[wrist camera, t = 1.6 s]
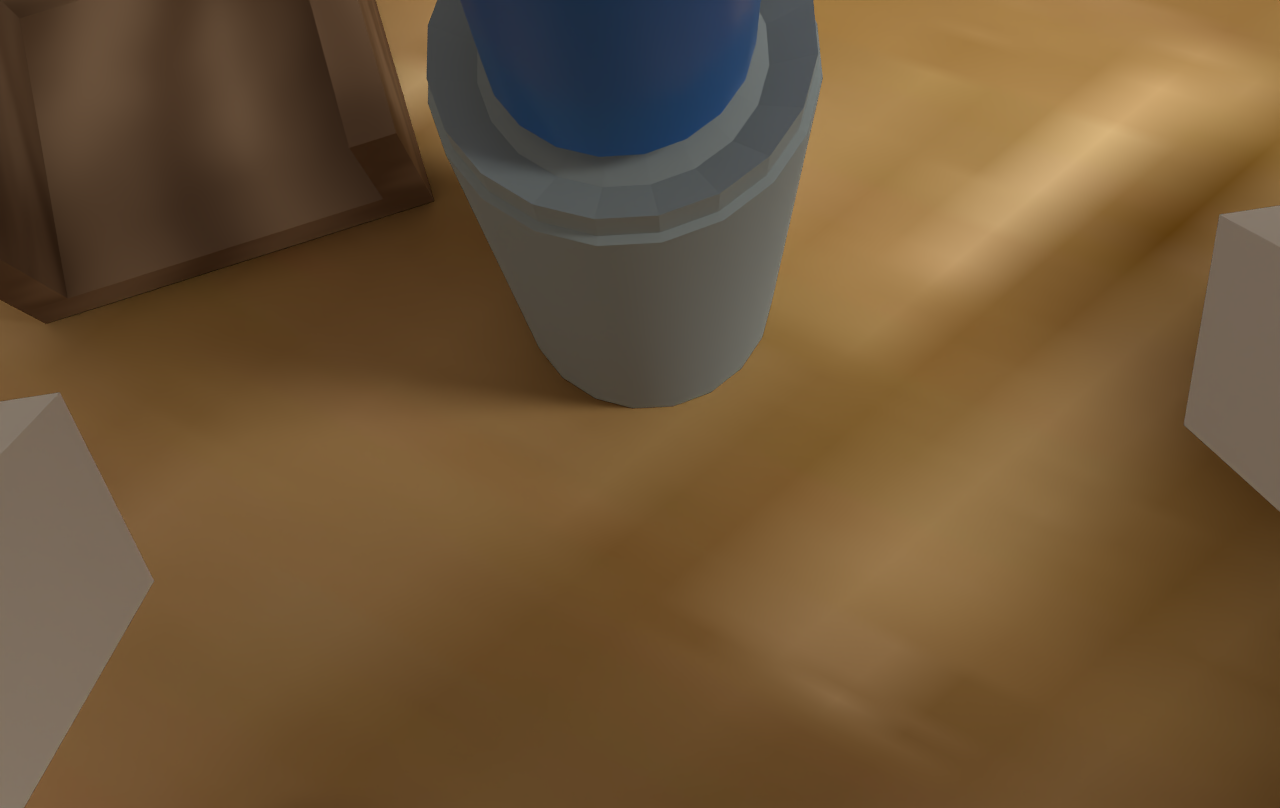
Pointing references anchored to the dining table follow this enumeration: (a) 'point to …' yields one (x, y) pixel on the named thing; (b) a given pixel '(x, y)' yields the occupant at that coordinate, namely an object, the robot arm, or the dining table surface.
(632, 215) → the blue and grey bottle
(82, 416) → the dining table surface
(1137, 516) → the dining table surface
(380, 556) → the dining table surface
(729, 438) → the dining table surface
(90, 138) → the rest
